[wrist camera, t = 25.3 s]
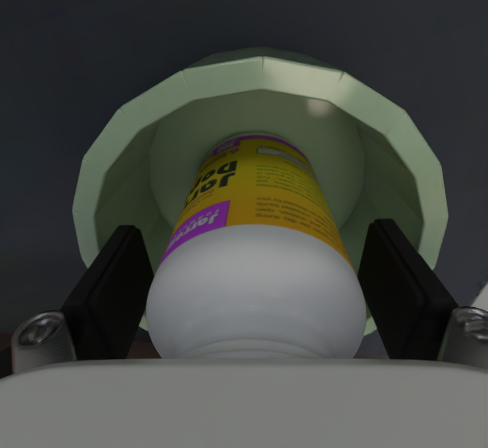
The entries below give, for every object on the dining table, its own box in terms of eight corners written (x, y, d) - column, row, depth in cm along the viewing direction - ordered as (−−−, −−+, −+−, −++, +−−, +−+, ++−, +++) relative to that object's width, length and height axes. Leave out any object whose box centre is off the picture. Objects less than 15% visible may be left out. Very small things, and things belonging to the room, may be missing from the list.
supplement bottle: (237, 100, 14) (184, 317, 3) (339, 172, 16) (509, 456, 5) (177, 200, 17) (51, 475, 7) (267, 250, 19) (283, 527, 8)
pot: (113, 222, 19) (50, 306, 13) (189, -20, 12) (128, -68, 6) (291, 293, 22) (304, 387, 16) (431, 134, 15) (542, 197, 9)
